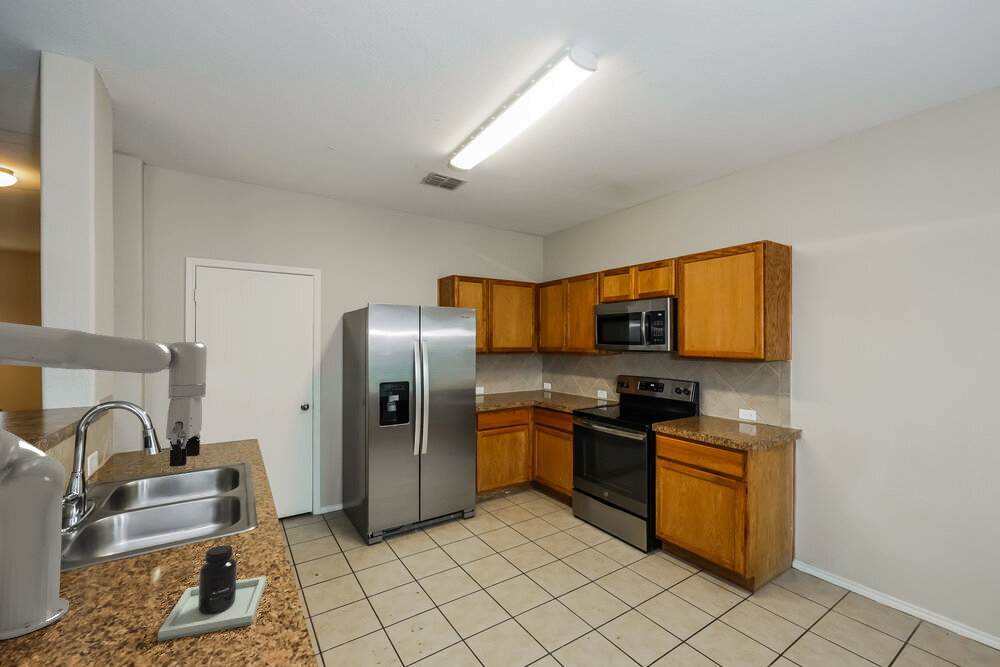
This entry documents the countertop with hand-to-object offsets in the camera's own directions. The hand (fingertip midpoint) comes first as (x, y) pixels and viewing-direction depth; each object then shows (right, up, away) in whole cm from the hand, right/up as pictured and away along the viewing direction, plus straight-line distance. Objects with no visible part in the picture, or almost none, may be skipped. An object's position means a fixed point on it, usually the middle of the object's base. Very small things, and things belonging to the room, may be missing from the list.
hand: (185, 460), depth 107 cm
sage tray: (+17, -28, -14) cm, 36 cm away
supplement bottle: (+17, -28, -14) cm, 35 cm away
